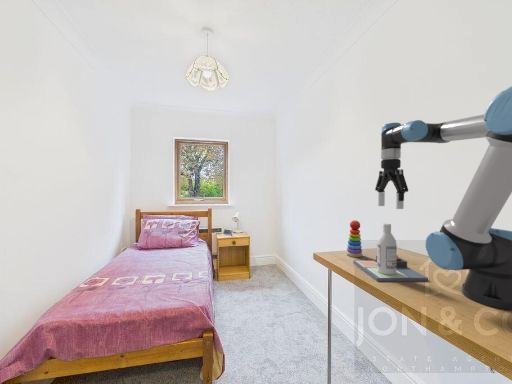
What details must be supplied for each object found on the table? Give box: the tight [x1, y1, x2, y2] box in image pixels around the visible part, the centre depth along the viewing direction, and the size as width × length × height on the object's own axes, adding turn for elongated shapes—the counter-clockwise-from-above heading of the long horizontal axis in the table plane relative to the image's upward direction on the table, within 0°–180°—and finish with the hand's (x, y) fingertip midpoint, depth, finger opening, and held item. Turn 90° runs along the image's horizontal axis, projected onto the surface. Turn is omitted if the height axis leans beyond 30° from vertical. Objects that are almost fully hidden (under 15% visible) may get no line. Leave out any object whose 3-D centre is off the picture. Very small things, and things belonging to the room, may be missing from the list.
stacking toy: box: [346, 219, 363, 258], centre depth 127 cm, size 8×8×19 cm
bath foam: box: [376, 223, 398, 275], centre depth 98 cm, size 7×7×20 cm
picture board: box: [352, 255, 429, 282], centre depth 104 cm, size 22×20×4 cm
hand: (389, 207), depth 106 cm, fingers open, 13 cm apart
